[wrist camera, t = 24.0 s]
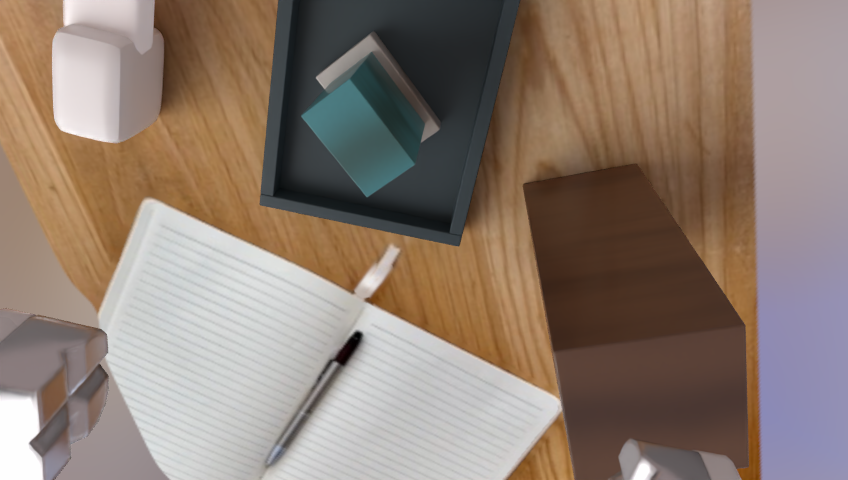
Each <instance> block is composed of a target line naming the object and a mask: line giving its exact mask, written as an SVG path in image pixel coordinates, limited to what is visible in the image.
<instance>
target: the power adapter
mask: <svg viewBox="0 0 848 480" xmlns="http://www.w3.org/2000/svg"><path fill="white" fill-rule="evenodd" d="M154 6H155V0H63V22H64V27H62V28H60V29H58V31H57V32H56V34H55V37H54V39H53V47H52V77H53V109H54V120H55V122H56V124H57V126H58V127H59V128H60V130H61V131H64V132H67V133H70V134H74V135H78V136H82V137H86V138H90V139H95V140H99V141H104V142H111V143H119V142H122V141H125V140H127V139H129V138H131V137H132V136H134V135H136V134H137V133H139V132H141V131H142V130H144V129H145V128H147V127H149V126H150V125H151V124H153V123H154V122H155V121H156V120H157V118H158V115H159V113H160V110H161V101H162V87H163V67H164V39H163V36H162V34H161V33H160V31H159V30H157V29H156V28H154Z"/></svg>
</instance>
